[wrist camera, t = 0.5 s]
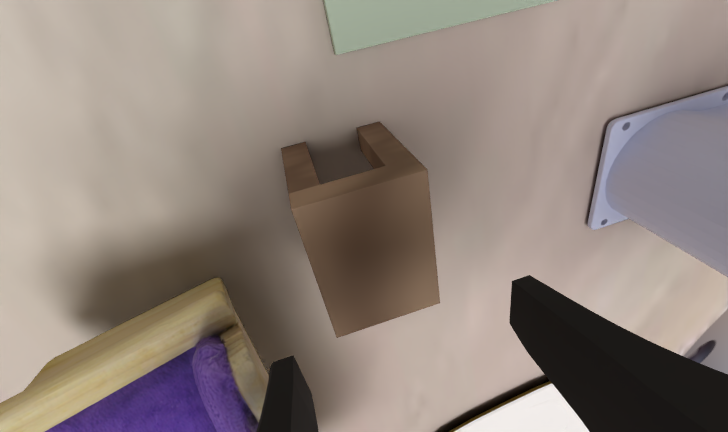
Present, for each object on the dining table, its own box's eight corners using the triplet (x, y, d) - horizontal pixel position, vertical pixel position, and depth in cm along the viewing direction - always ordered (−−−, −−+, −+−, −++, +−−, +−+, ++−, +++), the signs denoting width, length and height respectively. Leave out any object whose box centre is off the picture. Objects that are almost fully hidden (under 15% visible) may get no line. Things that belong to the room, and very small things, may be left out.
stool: (379, 121, 18) (427, 169, 13) (397, 232, 22) (440, 303, 17) (281, 148, 17) (291, 209, 12) (317, 257, 21) (336, 337, 16)
